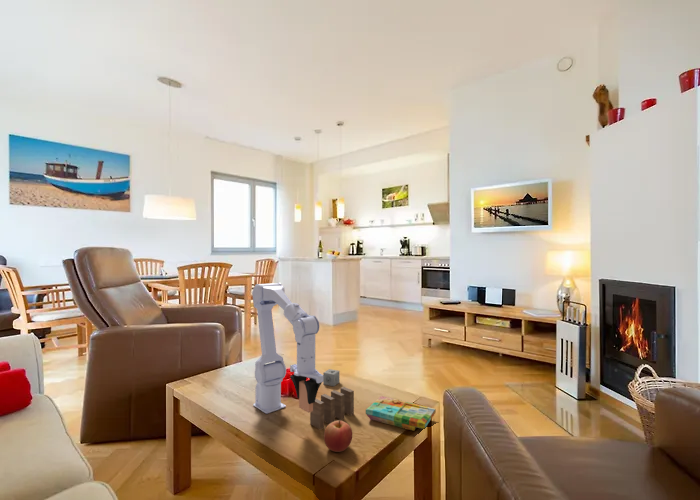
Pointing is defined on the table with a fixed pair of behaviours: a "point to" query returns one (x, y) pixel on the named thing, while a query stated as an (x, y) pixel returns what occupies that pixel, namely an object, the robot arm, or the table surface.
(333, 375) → the dice cube
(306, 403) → the domino
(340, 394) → the domino
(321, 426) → the domino
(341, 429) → the apple
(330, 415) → the domino
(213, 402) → the table surface
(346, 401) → the domino
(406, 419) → the puzzle game
